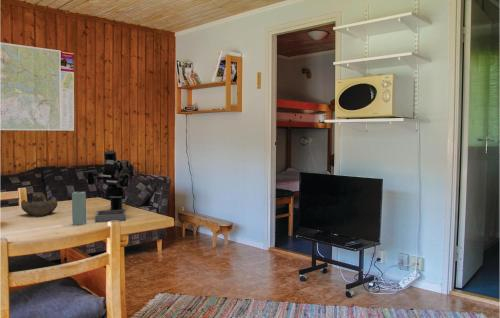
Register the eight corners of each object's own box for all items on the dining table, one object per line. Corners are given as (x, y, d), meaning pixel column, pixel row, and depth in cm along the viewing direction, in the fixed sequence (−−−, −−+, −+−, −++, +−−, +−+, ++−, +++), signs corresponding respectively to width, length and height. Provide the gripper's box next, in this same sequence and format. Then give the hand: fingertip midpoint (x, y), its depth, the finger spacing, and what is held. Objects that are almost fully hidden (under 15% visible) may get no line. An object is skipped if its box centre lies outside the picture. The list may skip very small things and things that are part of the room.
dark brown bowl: (19, 206, 199) (21, 191, 211) (22, 226, 203) (23, 209, 215) (56, 202, 205) (56, 187, 217) (58, 221, 210) (58, 206, 222)
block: (76, 222, 191) (75, 191, 190) (86, 222, 191) (85, 191, 190) (72, 225, 186) (71, 192, 185) (82, 224, 186) (82, 192, 185)
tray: (97, 216, 204) (97, 210, 204) (125, 215, 208) (125, 209, 208) (95, 222, 192) (95, 215, 191) (125, 220, 195) (125, 214, 195)
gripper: (91, 156, 206) (85, 166, 191) (131, 159, 209) (128, 170, 195) (90, 177, 209) (84, 189, 194) (129, 180, 213) (126, 192, 198)
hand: (105, 185), depth 195 cm, fingers open, 9 cm apart
